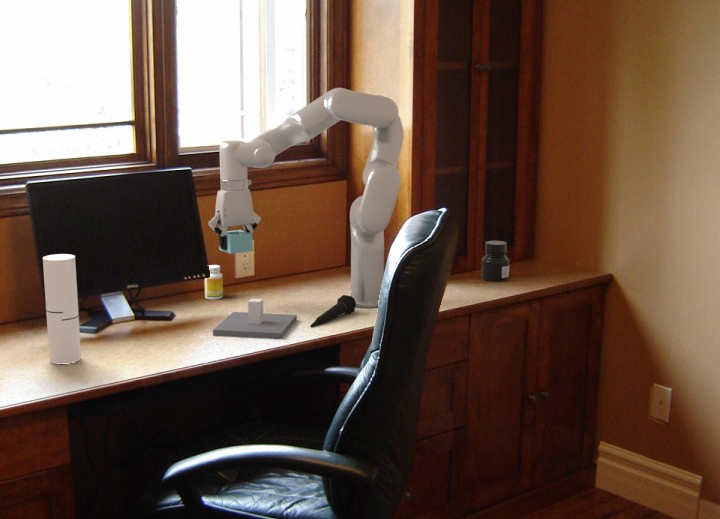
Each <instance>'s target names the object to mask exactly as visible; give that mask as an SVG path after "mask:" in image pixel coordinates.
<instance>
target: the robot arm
mask: <svg viewBox="0 0 720 519" xmlns="http://www.w3.org/2000/svg"><path fill="white" fill-rule="evenodd" d="M340 121H345V122H347V123H352V124H358V125H363V126H368V127H369V126H370V127H371V128H372V131H373V136H372V137H373V138H372V142H371V146H370V149H369V150H370V151H369V154H368V157H367V160H366V163H365V166H364V168H363V172H362V182H363V184H364V185H365V186H364V191H363V192H362V193H363V194H362V195H361V196H359V197H358V196H357V198H356V199H354V201H353V202H352V203H351V205H350V206H351V207H350V211H349V223H350V224H349V226H350V241H351V242H350V243H351V244H350V291H351V292H350V296H352V297H353V298H354V299H355V301H356V307H355V308H366V309H367V308H369V309H371V308H378V307H377V306H378V300H379V295H380V290H381V284H382V280H383V275H385V274H384V273H385V272H384V269H385V268H384V265H385V264H384V263H385V258H384V257H385V236H384V234H385V233H384V232H385V231H384V230H385V229H386V228H387V227H388V225H389V223H390V221H391V219H392V215H393V213H394V209H395V206H396V202H397V199H398V196H399V191H400V190H401V189H400V188H401V184H402V183H401V180H402V178H401V174H400V171H399V168H397V167H398V163H399V160H400V156H401V152H402V147H403V142H404V127H403V126H404V125H403V122H402V120H401V117H400V114H399V108H398V105H397V103H396V102H395V101H394V100H393V99H392V98H390V97H387V96H384V95H378V94H377V95H375V94H370V93H364V92H360V91H356V90H355V91H354V90H350V89H347V88H343V87H334V88H332V89H331V90H329V91H327V92H326V93H324V94H322V95H321V96H319V97H317V98H316V99H315V100H313V101H312V102H310V103H309V104H307V105H305V106H304V107H302V108H301V109H299V110H297V111H295V112H294V113H292V114H291V115H290V116H288V117H286V118H285V119H284V120H282V121H280V122H278V123H277V124H275V125H274V126H272V127H270V128H268V129H267V130H265V131H264V132H262V133H261V134H259V135H258V136H256V137H255V138H253V139H252V140H251V141H249V142H245V141H242V140H225V141H222V142H220V144H219V148H218V149H219V174H220V176H219V178H220V181H219V183H220V184H219V185H220V190H218V191H217V194H216V200H215V212H214V216H213V217H212V218H211V219H210V220H209V221H208V223H207V224H208V226H209V227H210V228H211V229H212V230H213V231H214V232H215V233H216V235H217V236H218V248H219V247H220V249H222V250H227V237H226V236H225V234H226V232H227V231H228V229H229V228H230V227H239V226H242V227H243V229H244V231H246V232H249V233H252V234H253V233H254V230H256V228H257V227H258V225H259V223H260V222H261V221H262V218H261V216H260V215H258V214H257V213H256V212H255V211H254V207H253V206H254V205H253V200H252V199H253V198H252V193H251V190H250V189H249V186H251V185H252V180H251V179H249V178H248V167H249V168H256V169H265V168H268V167H270V166H271V165H272V164H273V162H275V158H276V156H278V155H279V154H280V153H282V152H284V151H285V150H287V149H289V148H291V147H293V146H295V145H297V144H301V143H304V142H305V143H306V142H308V141H310V140H312V139H314V138H315V137H317V136H318V135H320V134H321V133H323V132H325V131H326V130H328V129H329V128H331V127H332V126H334V125H336V124H337V123H338V122H340ZM217 225H219V226H217Z"/></svg>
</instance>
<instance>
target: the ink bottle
mask: <svg viewBox="0 0 720 519" xmlns="http://www.w3.org/2000/svg"><path fill="white" fill-rule="evenodd" d="M484 245H485V247H484V250H485V251H484V252H485V253H484V254H485V255H484V256H483V257H482V258H481V272H480V273H481V275H480V276H481V279H482V280H483V281H488V282H504V281H508V280H509V277H510V276H509V275H510V259H509V258H508V257H507V256H506V254H507V248H508V244H507V242H506V241H503V240H502V241H501V240H489V241H485V244H484Z"/></svg>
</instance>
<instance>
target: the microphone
mask: <svg viewBox="0 0 720 519" xmlns="http://www.w3.org/2000/svg"><path fill="white" fill-rule="evenodd" d="M356 308H357V307H356V301H355V299H354V298H353V297H352V296H351V295H346V294H342V295H341V296H340V297H339V298H337V302H336V304H334V305H333V306H331V307H330V308H329V309H328V310H326V311H324V312H323V313H322V314H321V315H319V316H318V317H317V318H316V319H315V320H314V321H313V322H312V323H311V324H310V325H309V326H310V328H314V327H316V326H320V325H324V324H326V323H328V322H329V321H331V320H333V319H335V318H338V317H339V316H342V315H343V314H346V315H350V314H352V313H354V312H355V309H356Z"/></svg>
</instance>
